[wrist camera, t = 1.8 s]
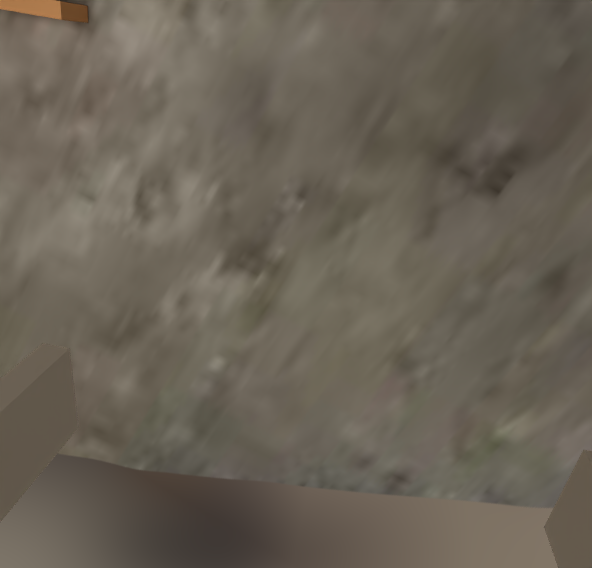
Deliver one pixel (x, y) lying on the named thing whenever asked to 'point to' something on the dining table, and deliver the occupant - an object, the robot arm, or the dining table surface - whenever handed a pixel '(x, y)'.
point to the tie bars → (48, 9)
